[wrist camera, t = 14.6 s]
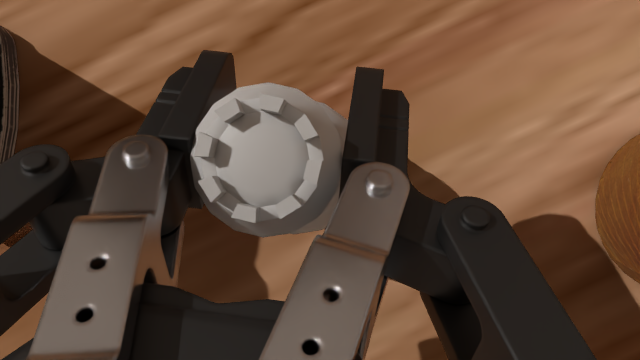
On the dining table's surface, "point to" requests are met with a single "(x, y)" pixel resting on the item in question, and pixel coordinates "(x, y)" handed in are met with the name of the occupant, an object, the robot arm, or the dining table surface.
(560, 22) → the dining table surface
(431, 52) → the dining table surface
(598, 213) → the disposable coffee cup
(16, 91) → the lighter
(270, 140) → the rook chess piece
